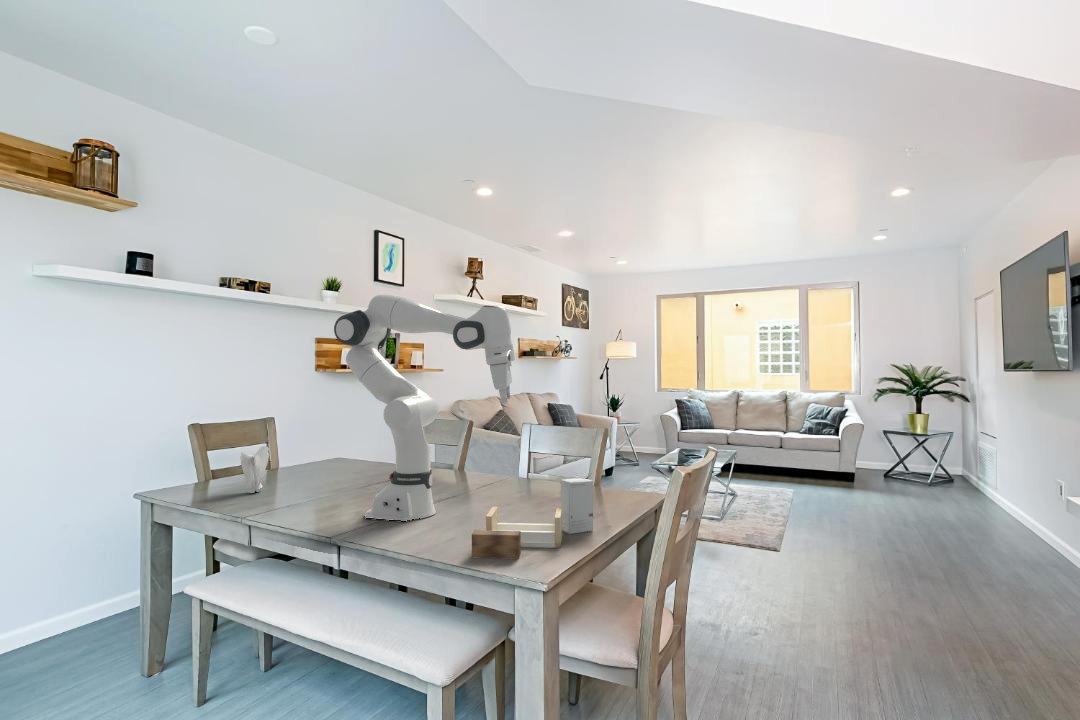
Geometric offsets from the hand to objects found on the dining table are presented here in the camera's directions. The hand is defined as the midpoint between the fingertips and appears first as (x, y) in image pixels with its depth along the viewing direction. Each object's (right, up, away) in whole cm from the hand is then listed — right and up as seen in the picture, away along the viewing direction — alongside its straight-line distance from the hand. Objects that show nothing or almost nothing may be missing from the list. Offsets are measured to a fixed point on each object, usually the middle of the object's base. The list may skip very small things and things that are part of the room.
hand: (506, 400), depth 170 cm
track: (+6, -37, -19) cm, 42 cm away
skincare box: (+21, -38, -9) cm, 44 cm away
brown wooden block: (-1, -37, -30) cm, 48 cm away
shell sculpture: (-100, -39, +42) cm, 116 cm away
